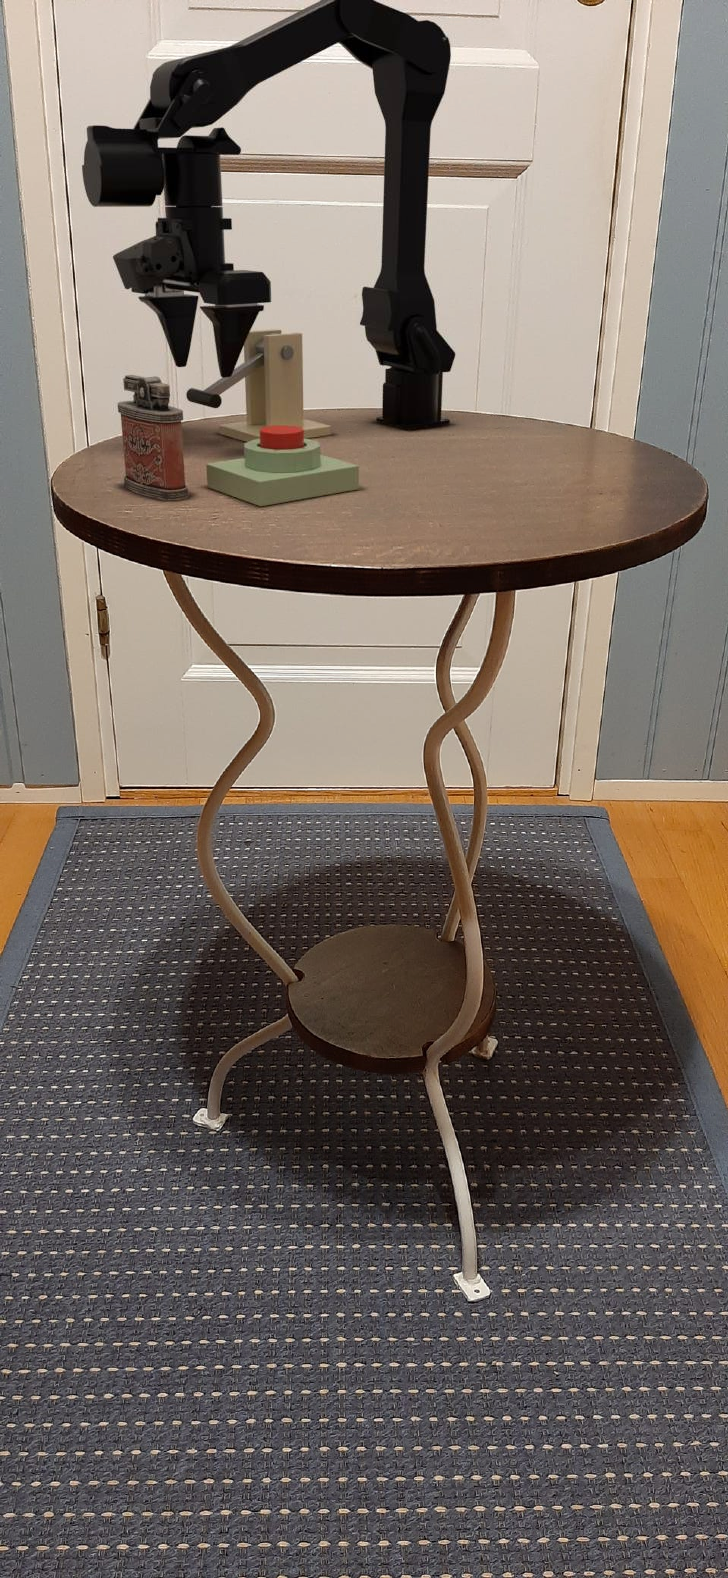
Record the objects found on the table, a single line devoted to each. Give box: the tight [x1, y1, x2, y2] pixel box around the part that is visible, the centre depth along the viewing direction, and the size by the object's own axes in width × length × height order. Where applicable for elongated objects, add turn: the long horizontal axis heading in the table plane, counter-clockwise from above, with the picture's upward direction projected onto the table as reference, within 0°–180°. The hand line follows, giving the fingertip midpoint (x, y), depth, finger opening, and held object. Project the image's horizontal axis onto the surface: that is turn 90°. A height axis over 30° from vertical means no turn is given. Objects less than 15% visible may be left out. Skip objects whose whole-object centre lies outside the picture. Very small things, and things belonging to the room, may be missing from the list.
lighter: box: [117, 374, 189, 501], centre depth 103 cm, size 8×3×10 cm, turn 43°
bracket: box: [218, 328, 332, 443], centre depth 128 cm, size 10×8×11 cm
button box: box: [205, 438, 360, 507], centre depth 106 cm, size 11×9×4 cm
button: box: [260, 425, 304, 450], centre depth 105 cm, size 4×4×2 cm
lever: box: [185, 333, 278, 409], centre depth 125 cm, size 12×5×2 cm, turn 128°
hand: (203, 371), depth 122 cm, fingers open, 9 cm apart
